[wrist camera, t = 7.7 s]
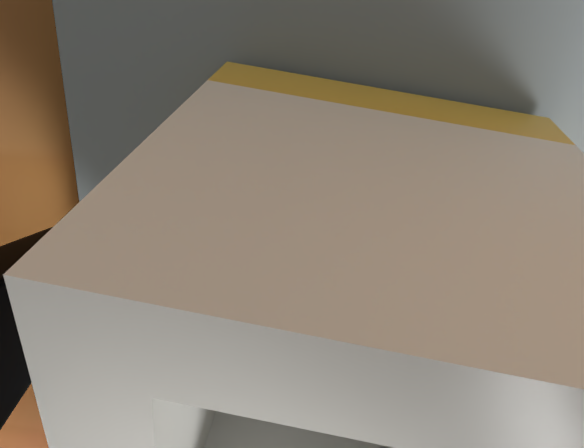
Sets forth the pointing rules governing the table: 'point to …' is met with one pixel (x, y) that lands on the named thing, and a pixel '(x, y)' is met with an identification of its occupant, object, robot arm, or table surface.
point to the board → (309, 58)
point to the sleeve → (316, 278)
